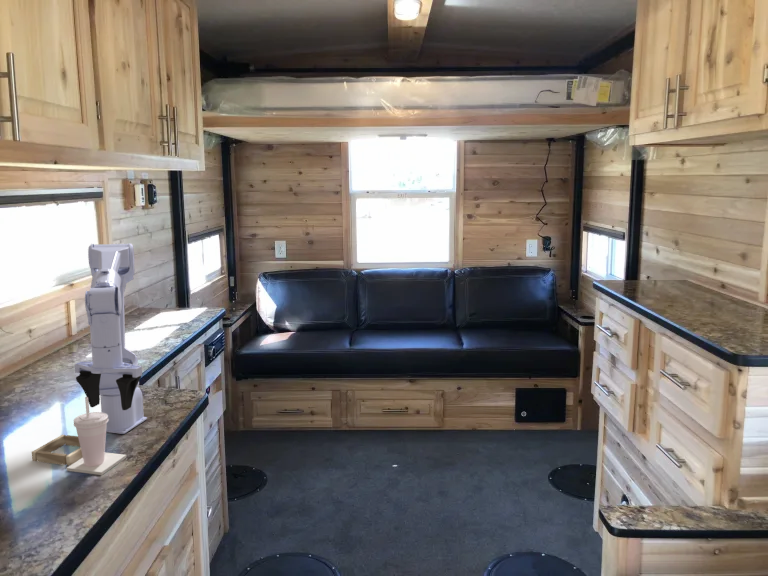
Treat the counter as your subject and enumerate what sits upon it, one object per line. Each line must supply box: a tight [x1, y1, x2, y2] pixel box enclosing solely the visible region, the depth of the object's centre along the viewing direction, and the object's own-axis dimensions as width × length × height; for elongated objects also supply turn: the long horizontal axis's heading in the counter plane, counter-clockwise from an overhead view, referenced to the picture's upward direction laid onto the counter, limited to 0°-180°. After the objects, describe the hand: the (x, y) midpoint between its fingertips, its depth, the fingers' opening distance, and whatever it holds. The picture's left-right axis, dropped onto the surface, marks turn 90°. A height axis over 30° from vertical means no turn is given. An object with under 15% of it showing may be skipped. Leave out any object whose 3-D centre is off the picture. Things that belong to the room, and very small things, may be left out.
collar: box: [31, 434, 83, 467], centre depth 131 cm, size 9×9×2 cm
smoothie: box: [73, 396, 109, 467], centre depth 125 cm, size 6×6×14 cm
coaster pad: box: [66, 451, 127, 476], centre depth 127 cm, size 8×8×1 cm
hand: (110, 407), depth 130 cm, fingers open, 7 cm apart
